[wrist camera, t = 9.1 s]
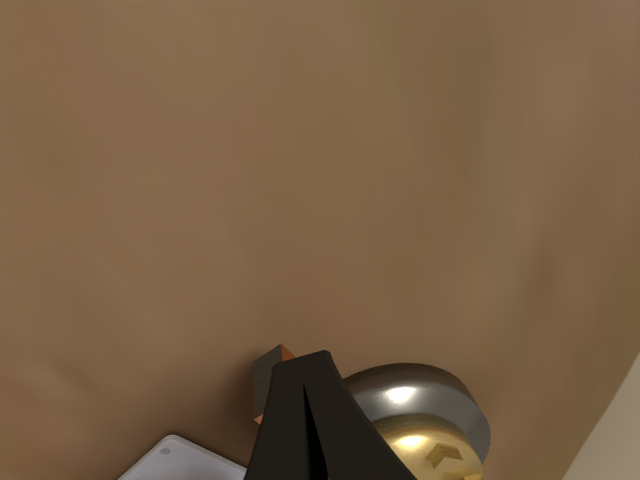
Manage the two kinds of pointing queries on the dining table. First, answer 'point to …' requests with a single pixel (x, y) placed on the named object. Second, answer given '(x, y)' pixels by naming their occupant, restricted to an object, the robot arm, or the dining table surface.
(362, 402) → the rounded grey metal base
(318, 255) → the dining table surface
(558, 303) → the dining table surface
